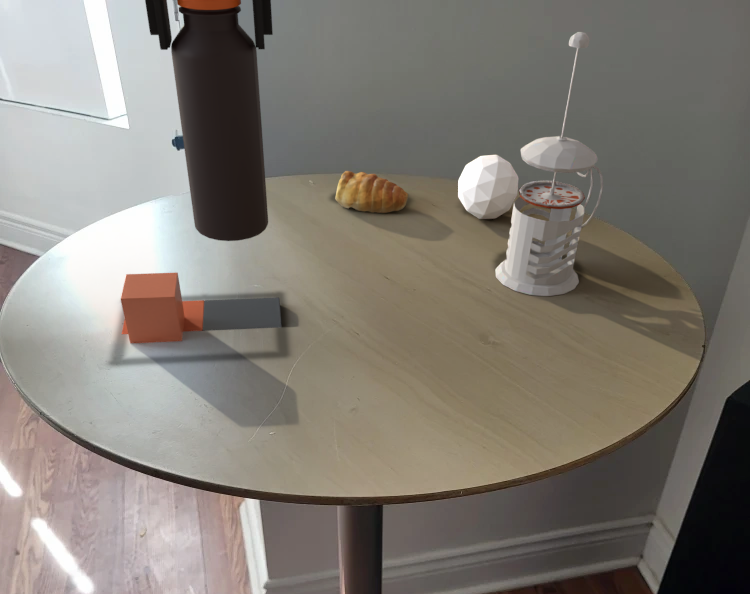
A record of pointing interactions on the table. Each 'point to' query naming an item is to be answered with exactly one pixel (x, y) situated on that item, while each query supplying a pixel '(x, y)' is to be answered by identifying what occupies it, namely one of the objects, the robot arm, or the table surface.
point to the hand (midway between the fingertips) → (213, 43)
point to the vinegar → (220, 120)
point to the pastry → (369, 193)
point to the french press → (531, 258)
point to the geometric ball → (488, 186)
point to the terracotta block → (153, 307)
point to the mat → (230, 314)
